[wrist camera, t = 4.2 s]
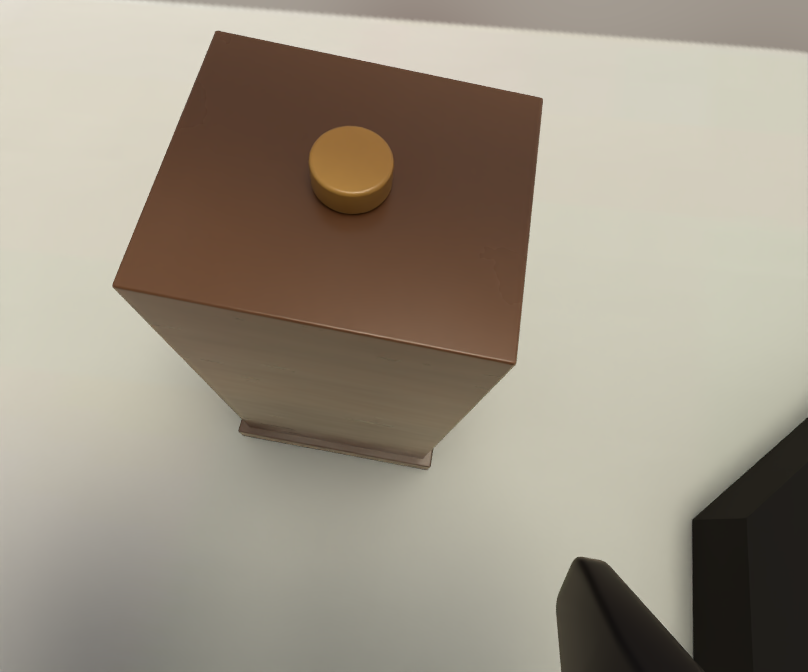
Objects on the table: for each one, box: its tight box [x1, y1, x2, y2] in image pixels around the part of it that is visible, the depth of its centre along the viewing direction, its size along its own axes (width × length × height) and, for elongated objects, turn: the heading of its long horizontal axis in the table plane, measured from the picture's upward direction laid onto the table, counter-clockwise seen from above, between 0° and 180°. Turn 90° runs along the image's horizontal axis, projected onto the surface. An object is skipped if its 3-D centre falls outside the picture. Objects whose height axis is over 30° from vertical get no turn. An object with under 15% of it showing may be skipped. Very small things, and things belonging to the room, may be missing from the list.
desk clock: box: [112, 31, 543, 470], centre depth 15 cm, size 6×7×13 cm
